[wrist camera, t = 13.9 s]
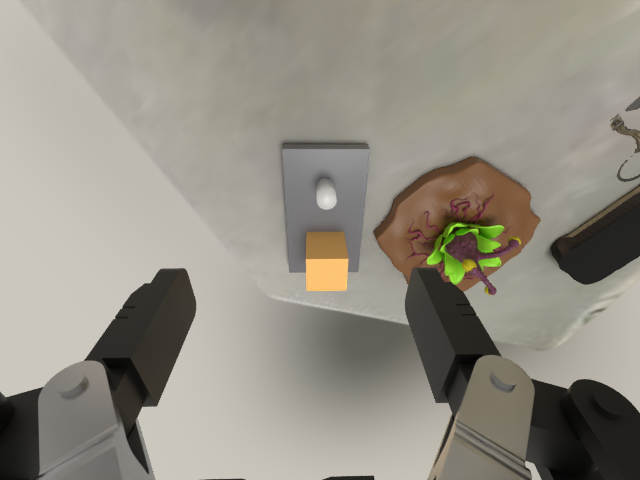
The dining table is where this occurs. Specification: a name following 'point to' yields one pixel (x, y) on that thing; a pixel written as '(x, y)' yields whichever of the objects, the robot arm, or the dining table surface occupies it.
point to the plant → (458, 223)
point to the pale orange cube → (326, 261)
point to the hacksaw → (627, 133)
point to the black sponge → (602, 242)
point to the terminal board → (306, 196)
